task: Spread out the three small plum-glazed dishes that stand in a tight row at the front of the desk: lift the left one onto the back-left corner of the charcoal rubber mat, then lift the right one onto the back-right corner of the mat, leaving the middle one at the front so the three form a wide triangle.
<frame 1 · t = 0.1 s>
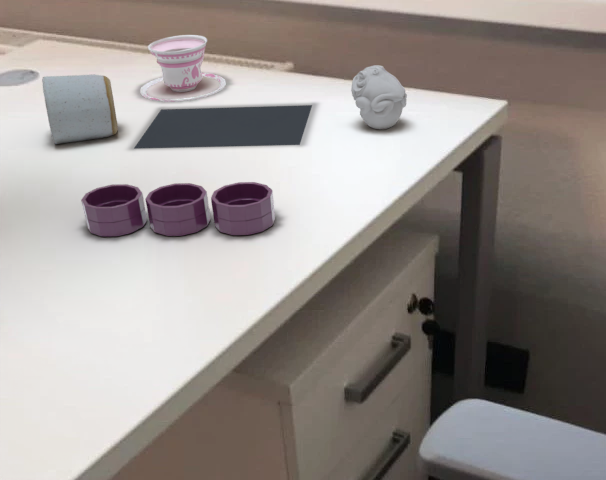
mat: (226, 129, 109), on the table
teacup: (183, 91, 123), on the table
dish right: (245, 227, 87), on the table
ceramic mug: (84, 137, 111), on the table
frog figurine: (379, 129, 106), on the table
dish left: (118, 228, 89), on the table
dish middle: (181, 227, 88), on the table
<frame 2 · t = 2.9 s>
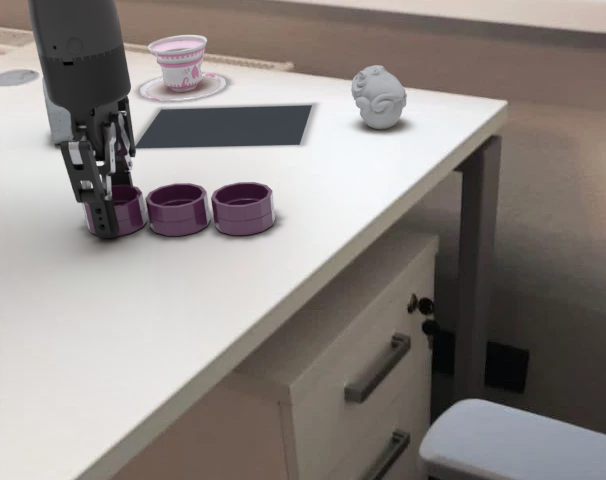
hand: (117, 221, 88), 1 cm above the table, tool pointing down, fingers closed on dish left, 6 cm apart
dish left: (118, 228, 89), on the table, touching gripper
everything else where it was.
when the fingers open (1 cm above the table, at t = 10.5 s): dish left stays where it is, resting on mat.
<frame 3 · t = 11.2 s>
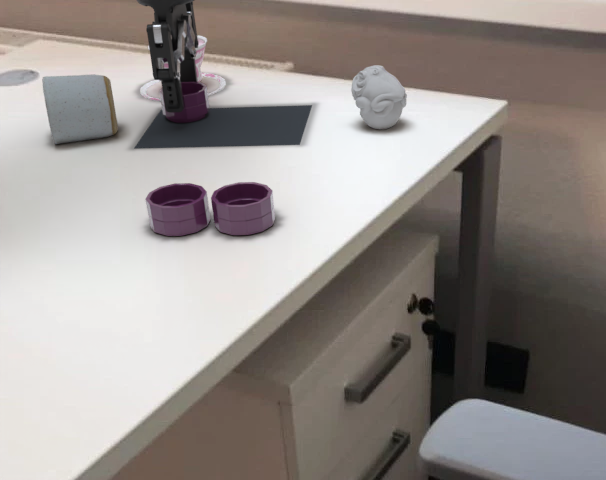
hand: (182, 100, 112), 2 cm above the table, tool pointing down, fingers open, 8 cm apart
dish left: (187, 116, 113), resting on mat
everything else where it was.
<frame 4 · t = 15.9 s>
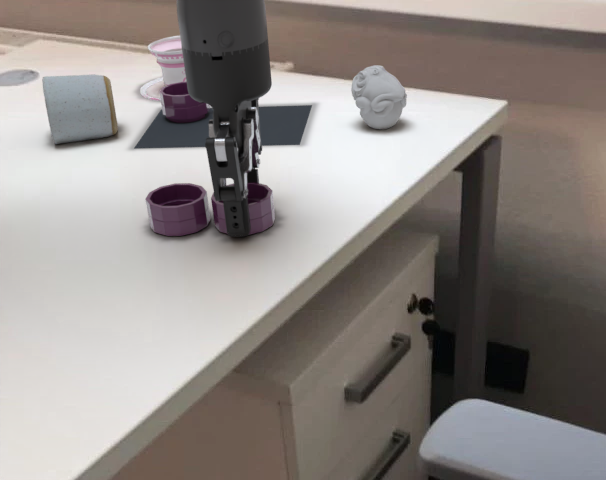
hand: (244, 219, 87), 1 cm above the table, tool pointing down, fingers closed on dish right, 6 cm apart
dish right: (245, 227, 87), on the table, touching gripper
everything else where it was.
when the fingers open (1 cm above the table, at t = 23.5 s): dish right stays where it is, resting on mat.
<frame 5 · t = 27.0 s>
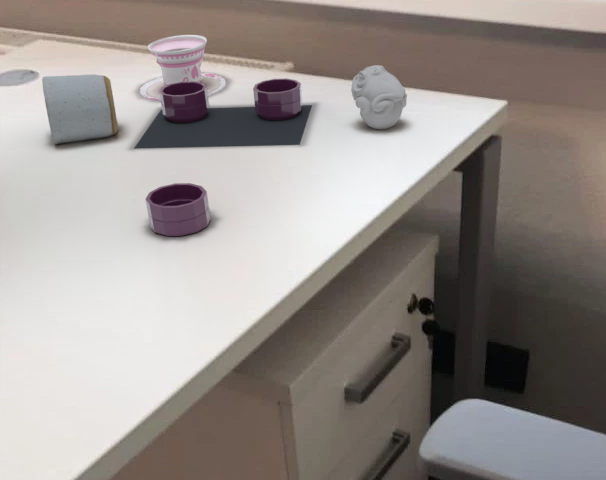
dish right: (279, 113, 112), resting on mat
everything else where it was.
at the end: dish left 0.1 cm from the target spot on the mat, point 0.4 cm above the mat's base; dish right 0.1 cm from the target spot on the mat, point 0.4 cm above the mat's base; dish middle moved 0.0 cm from its start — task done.
